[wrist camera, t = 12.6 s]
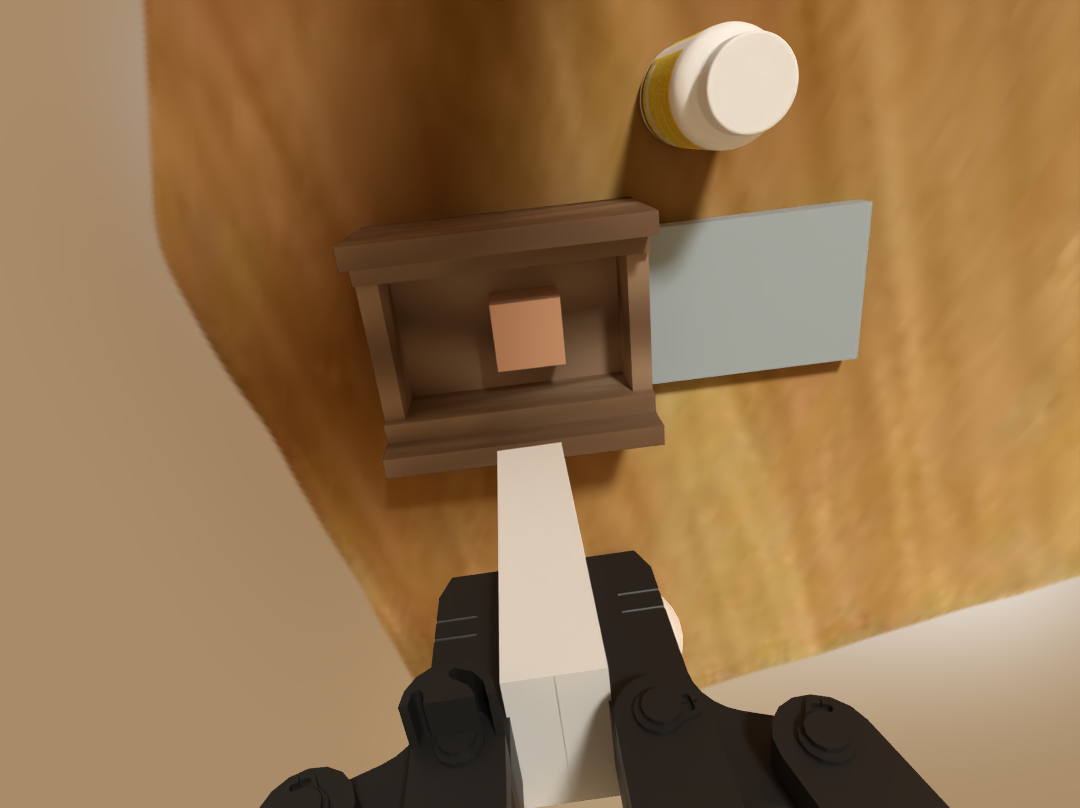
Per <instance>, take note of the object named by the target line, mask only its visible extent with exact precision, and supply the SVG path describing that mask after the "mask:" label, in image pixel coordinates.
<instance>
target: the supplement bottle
mask: <svg viewBox="0 0 1080 808" xmlns="http://www.w3.org/2000/svg"><path fill="white" fill-rule="evenodd" d="M798 78H799V75H798V65H797V61H796V58H795V55H794V53H793V51H792V49H791V48H790V46H789V45H788V44H787V43H786V42H785V41H784V40H783V39H782V38H781V37H779V36H778V35H776V34H774V33H771V32H768V31H764V30H762V29H761V28H759V27H757V26H755V25H752V24H750V23H746V22H738V21H733V22H725V23H721V24H717V25H714V26H712V27H709V28H707V29H705V30H703V31H701V32H699V33H697V34H694V35H692V36H690V37H688V38H686V39H683V40H681V41H679V42H677V43H675V44H673V45H671V46H669V47H668V48H666V49H665V50H663V51H662V52H661V53H660V54H659V55H658V56H657V57H656V58H655V59H654V60H653V61H652V63H651V64H650V66H649V67H648V69H647V71H646V73H645V75H644V78H643V81H642V84H641V90H640V108H641V113H642V116H643V119H644V122H645V124H646V125H647V127H648V129H649V130H650V131H651V133H652V134H653V135H654V136H655V137H656V138H657V139H659V140H660V141H662V142H663V143H665V144H667V145H670V146H673V147H677V148H684V149H699V150H710V151H723V150H732V149H736V148H739V147H741V146H744V145H746V144H748V143H750V142H751V141H753V140H754V139H756V138H757V137H759V136H760V135H761V134H762V133H763V132H764V131H766V130H768V129H770V128H771V127H773V126H774V125H775V124H776V123H778V122H779V121H780V120H781V119H782V118H783V117H784V115H785V114H786V113H787V111H788V110H789V108H790V106H791V105H792V102H793V100H794V98H795V95H796V92H797V87H798Z"/></svg>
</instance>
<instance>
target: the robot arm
mask: <svg viewBox="0 0 1080 808" xmlns="http://www.w3.org/2000/svg"><path fill="white" fill-rule="evenodd" d="M497 469H498V571H497V572H490V573H483V574H476V575H469V576H462V577H455V578H452V579H451V581H450V582H449V584H448V585H447V587H446V588H445V590H444V592H443V593H442V595H441V596H440V598H439V606H438V614H437V624H436V632H435V643H434V649H433V658H432V667H431V668H430V669H428V670H427V671H425V672H424V673H422V674H421V675H419V676H417V677H416V678H415V679H414V681H413V682H412V683H411V684H410V685H409V686H408V688H407V689H406V690H405V691H404V694H403V696H402V699H401V701H400V704H399V707H398V709H399V712H400V715H401V719H402V722H403V725H404V729H405V732H406V735H407V738H408V741H409V745H408V747H406V748H405V749H404V750H403V751H402V752H401V753H400V754H398V755H397V756H396V757H394V758H393V759H391V760H389V761H387V762H386V763H384V764H382V765H380V766H378V767H376V768H374V769H371V770H370V771H367V772H365V773H363V774H361V775H358V776H356V777H354V778H352V779H350V780H349V779H348V778H347V777H346V776H345V774H344V773H343V772H341V771H338V770H335V769H332V768H329V767H320V768H311V769H307V770H305V771H303V772H300V773H298V774H296V775H294V776H292V777H289V778H288V779H287V780H286V781H284V782H283V783H282V784H281V785H279V786H278V787H277V788H276V789H274V790H273V791H272V792H271V793H270V795H269V796H268V797H267V799H266V800H265V801H264V803H263V804H262V805H261V806H260V808H524V804H525V808H536V807H543V806H550V805H557V804H564V803H570V802H577V801H584V800H590V799H598V798H605V797H612V796H619V795H621V799H622V804H623V808H949V806H948V805H947V804H946V803H945V802H944V801H943V800H942V799H941V798H940V797H939V796H938V795H937V794H936V793H935V791H933V789H932V788H931V787H930V786H929V785H928V784H927V783H926V782H925V781H924V780H923V779H922V777H921V776H920V775H919V774H918V773H917V772H916V771H915V770H914V769H913V768H912V767H911V766H910V765H909V764H908V762H907V761H905V759H904V758H903V757H902V756H901V755H900V754H899V753H898V752H897V751H896V750H895V748H893V746H892V745H891V744H890V743H889V742H888V741H887V740H886V739H885V738H884V737H883V736H882V735H881V734H880V732H879V731H878V730H877V729H876V728H875V727H874V726H873V725H872V724H871V723H870V722H869V721H868V720H867V719H866V718H865V717H864V716H862V715H861V714H860V713H859V712H857V711H856V710H855V709H854V708H852V707H851V706H849V705H847V704H844V703H842V702H840V701H838V700H835V699H833V698H831V697H825V696H817V695H805V696H799V697H793V698H791V699H790V700H788V701H787V702H785V703H784V704H782V705H781V706H779V708H778V710H777V712H776V714H775V716H772V715H765V714H759V713H752V712H746V711H741V710H736V709H732V708H729V707H726V706H724V705H721V704H719V703H717V702H715V701H713V700H712V699H710V698H709V697H708V696H706V695H705V694H704V693H702V692H701V691H700V690H699V688H698V687H697V686H696V685H695V684H694V683H693V681H692V679H691V677H690V675H689V674H688V672H687V669H686V666H685V663H684V660H683V657H682V655H681V652H680V649H679V646H678V643H677V640H676V637H675V635H674V632H673V629H672V626H671V623H670V620H669V617H668V615H667V612H666V609H665V608H664V603H663V600H662V597H661V594H660V592H659V591H658V586H657V583H656V580H655V577H654V574H653V572H652V569H651V566H650V565H649V564H648V563H646V562H645V561H644V560H643V559H642V558H641V557H640V556H639V555H638V554H637V553H636V552H635V551H627V552H620V553H613V554H606V555H598V556H591V557H585V554H584V549H583V544H582V539H581V535H580V530H579V525H578V520H577V515H576V511H575V506H574V501H573V496H572V491H571V486H570V482H569V477H568V472H567V467H566V462H565V458H564V453H563V448H562V443H561V442H559V443H552V444H545V445H538V446H530V447H523V448H516V449H509V450H502V451H497Z"/></svg>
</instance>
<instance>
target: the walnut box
mask: <svg viewBox="0 0 1080 808" xmlns="http://www.w3.org/2000/svg"><path fill="white" fill-rule="evenodd" d="M657 235H659V210H657V209H655V208H653V207H651V206H649V205H646V204H644V203H642V202H640V201H638V200H636V199H633V198H631V197H626V198H617V199H608V200H600V201H591V202H582V203H574V204H565V205H556V206H547V207H539V208H530V209H521V210H513V211H504V212H495V213H487V214H478V215H469V216H460V217H452V218H443V219H434V220H426V221H417V222H408V223H400V224H391V225H382V226H373V227H365V228H360V229H358V230H357V231H356V232H354V233H353V234H351V235H350V236H349V237H347V238H346V239H344V240H343V241H342V242H340V243H339V244H337V245H336V246H335V247H333V251H334V256H335V260H336V264H337V269H338V273H339V272H347V271H349V275H350V280H351V284H352V287H355V289H356V294H357V298H358V303H359V307H360V312H361V316H362V321H363V325H364V330H365V334H366V338H367V343H368V347H369V352H370V356H371V361H372V365H373V370H374V374H375V379H376V383H377V388H378V392H379V397H380V401H381V405H382V410H383V414H384V419H385V424H384V430H385V435H386V439H387V444H388V445H387V448H386V451H385V454H384V457H383V460H382V462H383V466H384V471H385V475H386V479H391V478H399V477H407V476H415V475H424V474H432V473H440V472H448V471H456V470H464V469H472V468H480V467H488V466H496V465H497V451H502V450H509V449H516V448H523V447H530V446H538V445H545V444H552V443H559V442H561V443H562V448H563V453H564V457H569V456H577V455H585V454H593V453H601V452H609V451H617V450H625V449H633V448H641V447H649V446H657V445H665V439H664V425H663V423H662V421H661V420H660V418H659V416H658V414H657V413H656V404H655V392H654V390H653V380H652V349H651V318H650V287H649V256H648V253H650V252H651V240H650V236H657ZM546 286H555V287H556V289H557V291H558V294H559V296H560V304H561V315H562V326H563V337H564V348H565V359H566V364H562V365H553V366H545V367H537V368H529V369H520V370H512V371H504V372H498V366H497V359H496V352H495V345H494V338H493V330H492V323H491V316H490V309H489V293H495V292H504V291H512V290H521V289H529V288H538V287H546Z"/></svg>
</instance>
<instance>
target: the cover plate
mask: <svg viewBox="0 0 1080 808" xmlns="http://www.w3.org/2000/svg"><path fill="white" fill-rule="evenodd" d="M872 203H873V202H872V201H866V200H860V199H857V200H849V201H841V202H833V203H825V204H817V205H809V206H801V207H793V208H784V209H776V210H768V211H760V212H752V213H744V214H736V215H728V216H720V217H711V218H703V219H695V220H687V221H679V222H671V223H663V224H659V235H657V236H650V240H651V252H650V253H648V256H649V287H650V318H651V349H652V380H653V384H659V383H667V382H675V381H682V380H690V379H698V378H706V377H714V376H722V375H730V374H738V373H746V372H753V371H761V370H769V369H777V368H785V367H793V366H801V365H809V364H817V363H824V362H832V361H840V360H848V359H856V358H857V356H858V346H859V336H860V326H861V315H862V305H863V295H864V285H865V274H866V264H867V254H868V244H869V233H870V223H871V213H872Z"/></svg>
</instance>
